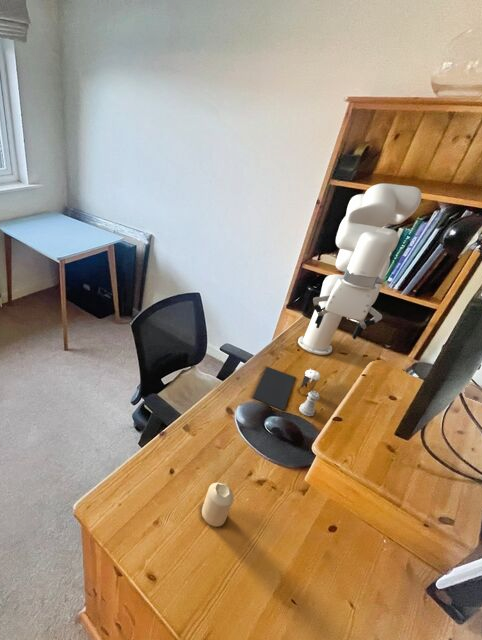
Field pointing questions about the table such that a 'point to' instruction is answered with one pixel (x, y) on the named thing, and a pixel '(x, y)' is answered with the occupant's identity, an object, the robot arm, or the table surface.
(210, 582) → the table surface
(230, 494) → the candle
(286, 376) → the felt mat
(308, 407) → the rook chess piece
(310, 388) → the milkshake
